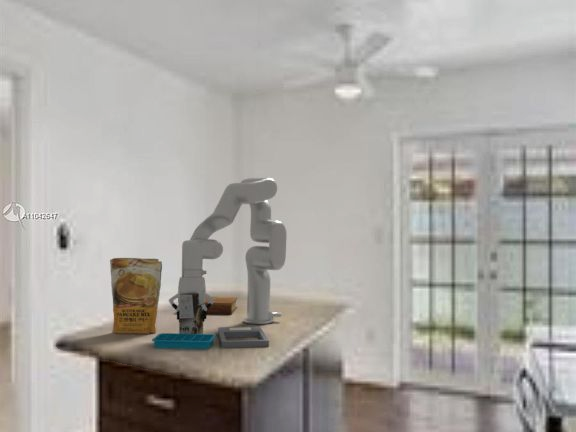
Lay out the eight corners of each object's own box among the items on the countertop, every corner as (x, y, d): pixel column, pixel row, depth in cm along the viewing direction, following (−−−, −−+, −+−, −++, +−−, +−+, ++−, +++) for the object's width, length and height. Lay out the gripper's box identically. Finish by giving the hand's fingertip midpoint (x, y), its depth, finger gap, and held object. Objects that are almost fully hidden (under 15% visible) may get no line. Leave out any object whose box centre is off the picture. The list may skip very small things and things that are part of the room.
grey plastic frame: (259, 331, 225) (259, 325, 225) (268, 346, 201) (268, 340, 201) (217, 332, 222) (218, 326, 222) (222, 347, 198) (222, 341, 198)
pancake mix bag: (111, 330, 224) (112, 257, 224) (161, 330, 224) (162, 257, 224) (106, 334, 217) (107, 258, 217) (158, 334, 217) (159, 259, 217)
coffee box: (195, 339, 210) (195, 294, 210) (178, 338, 212) (178, 293, 211) (203, 334, 219) (204, 291, 219) (187, 333, 221) (188, 290, 220)
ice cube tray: (210, 350, 195) (210, 341, 195) (150, 349, 196) (150, 340, 196) (216, 342, 207) (216, 334, 207) (160, 341, 208) (160, 333, 208)
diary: (180, 315, 261) (180, 302, 261) (189, 308, 280) (189, 296, 280) (231, 315, 260) (231, 302, 260) (237, 308, 279) (237, 296, 279)
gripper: (215, 272, 220) (214, 319, 221) (168, 272, 217) (167, 319, 218) (216, 274, 213) (215, 322, 213) (167, 275, 210) (167, 323, 210)
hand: (191, 321), depth 215 cm, fingers open, 8 cm apart
